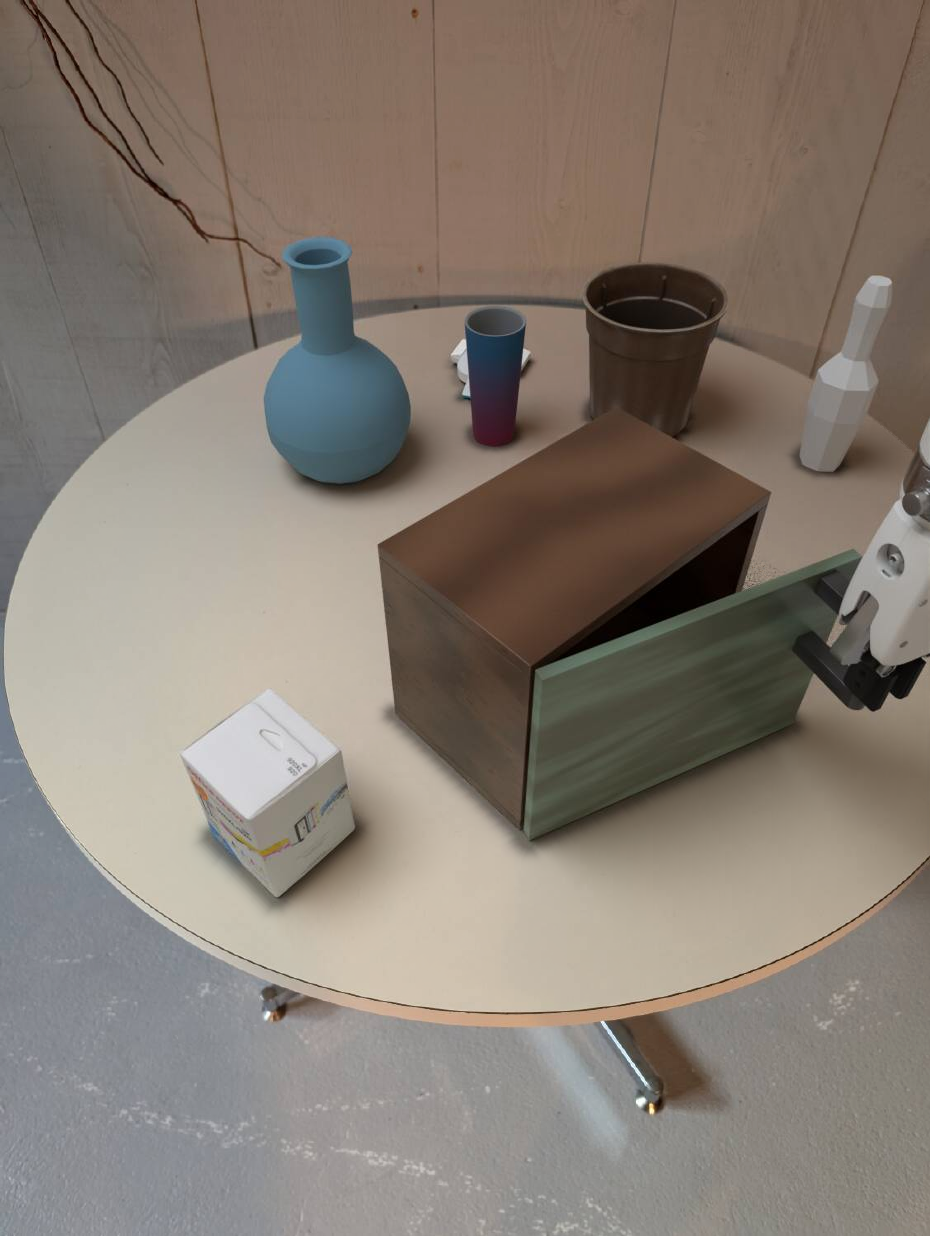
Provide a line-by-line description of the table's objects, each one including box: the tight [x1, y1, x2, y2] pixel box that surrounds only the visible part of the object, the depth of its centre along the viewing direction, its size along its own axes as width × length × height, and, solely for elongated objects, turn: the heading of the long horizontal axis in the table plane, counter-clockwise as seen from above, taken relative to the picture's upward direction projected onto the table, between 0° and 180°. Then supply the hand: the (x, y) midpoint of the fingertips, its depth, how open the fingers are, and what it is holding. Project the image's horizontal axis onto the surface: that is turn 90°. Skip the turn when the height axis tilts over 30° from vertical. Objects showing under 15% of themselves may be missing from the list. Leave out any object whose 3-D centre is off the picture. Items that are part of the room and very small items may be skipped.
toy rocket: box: [450, 338, 531, 399], centre depth 120 cm, size 16×10×2 cm, turn 159°
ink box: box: [179, 688, 356, 898], centre depth 69 cm, size 9×8×12 cm
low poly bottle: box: [799, 275, 893, 473], centre depth 99 cm, size 6×6×22 cm
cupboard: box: [377, 407, 772, 831], centre depth 76 cm, size 16×26×20 cm, turn 132°
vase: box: [263, 236, 412, 485], centre depth 99 cm, size 16×16×25 cm
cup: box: [464, 305, 527, 447], centre depth 105 cm, size 7×7×15 cm
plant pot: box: [581, 261, 730, 438], centre depth 107 cm, size 16×16×16 cm
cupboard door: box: [523, 548, 866, 841], centre depth 67 cm, size 8×26×20 cm, turn 116°
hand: (874, 689), depth 65 cm, fingers closed on cupboard door
